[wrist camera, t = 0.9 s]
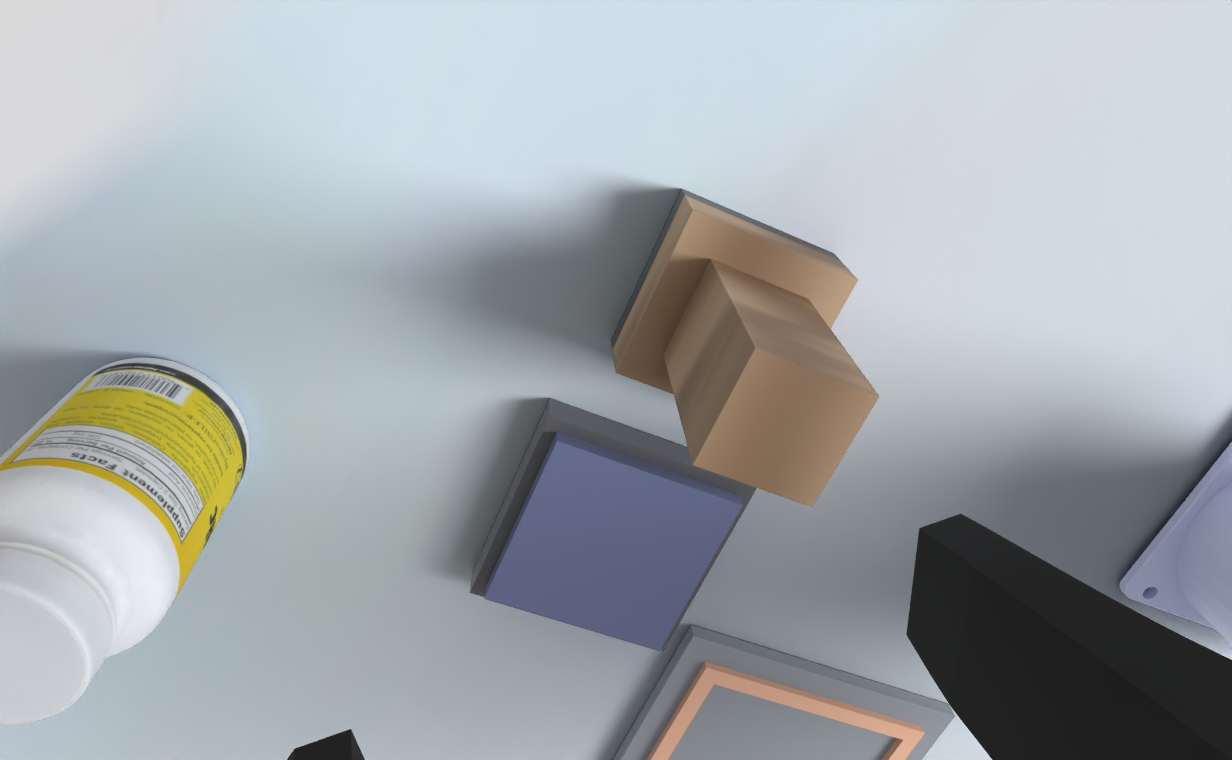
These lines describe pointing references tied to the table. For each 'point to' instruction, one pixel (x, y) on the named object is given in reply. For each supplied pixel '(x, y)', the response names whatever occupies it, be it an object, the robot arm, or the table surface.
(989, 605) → the robot arm
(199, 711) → the table surface
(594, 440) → the ink pad
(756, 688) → the board
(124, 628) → the supplement bottle
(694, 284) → the stamp
